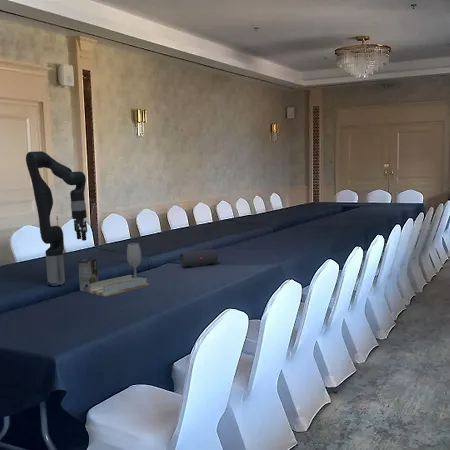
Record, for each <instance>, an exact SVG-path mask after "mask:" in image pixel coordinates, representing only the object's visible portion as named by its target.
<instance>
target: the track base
mask: <svg viewBox="0 0 450 450" xmlns="http://www.w3.org/2000/svg"><path fill="white" fill-rule="evenodd" d="M132 276H133V275H132V274H128V275H127V274H126V275H123V276H119V277H113V278H110V279H104V280H98V282H94V283H89V288H90V289H87V290H88V291H87V293H89V294H93V295H96V296H100V297H105V298H106V297H109V296H113V295H117V294H122V293H125V292H130V291H134V290H138V289H142V288H147V287H150V283H149V282H148V281H147V277H142V279H138V280H132V278H133V277H132Z"/></svg>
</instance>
